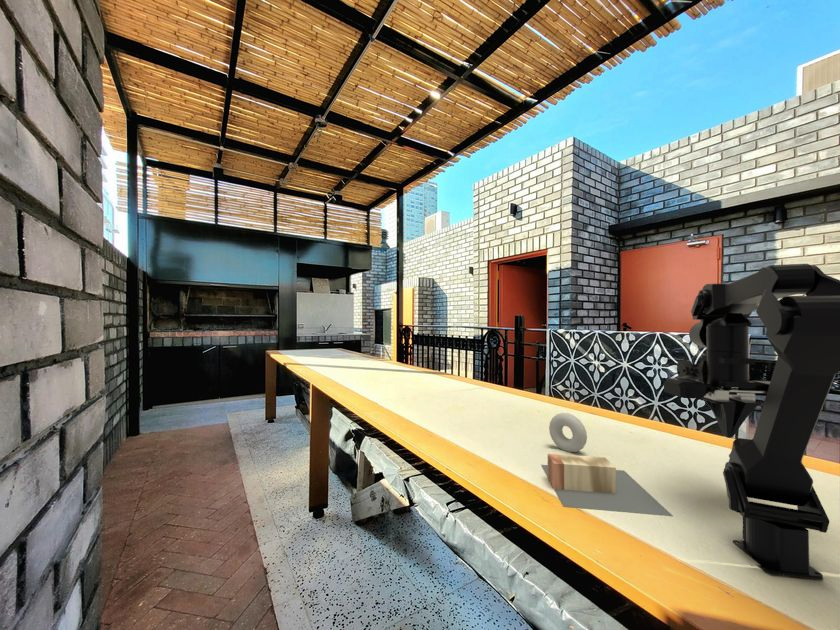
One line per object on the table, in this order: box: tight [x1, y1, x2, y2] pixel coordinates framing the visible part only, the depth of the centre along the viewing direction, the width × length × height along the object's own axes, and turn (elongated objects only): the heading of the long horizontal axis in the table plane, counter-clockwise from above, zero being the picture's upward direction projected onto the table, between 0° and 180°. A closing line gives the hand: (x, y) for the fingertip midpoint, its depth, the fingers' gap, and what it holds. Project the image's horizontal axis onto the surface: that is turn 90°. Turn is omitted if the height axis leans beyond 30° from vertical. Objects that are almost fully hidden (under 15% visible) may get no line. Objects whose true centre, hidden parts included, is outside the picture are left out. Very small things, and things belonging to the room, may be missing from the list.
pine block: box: [547, 453, 617, 494], centre depth 68 cm, size 5×5×12 cm
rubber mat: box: [540, 464, 674, 517], centre depth 67 cm, size 18×18×1 cm
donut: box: [548, 412, 588, 453], centre depth 87 cm, size 10×4×10 cm, turn 36°
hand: (727, 436), depth 61 cm, fingers closed
